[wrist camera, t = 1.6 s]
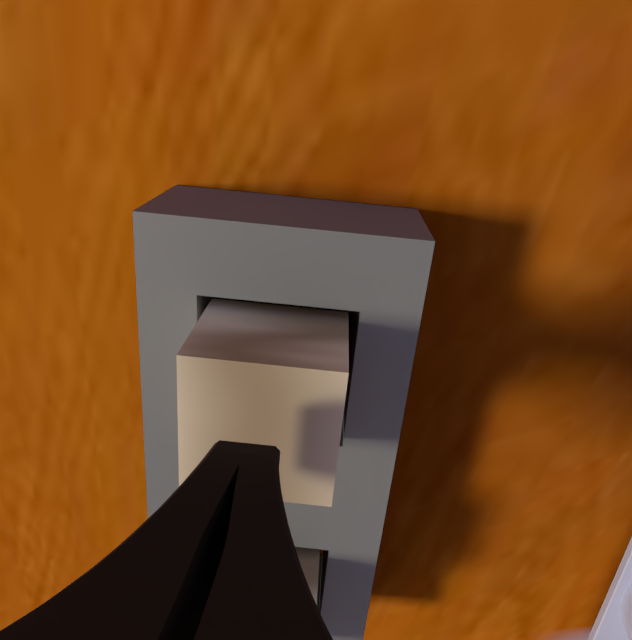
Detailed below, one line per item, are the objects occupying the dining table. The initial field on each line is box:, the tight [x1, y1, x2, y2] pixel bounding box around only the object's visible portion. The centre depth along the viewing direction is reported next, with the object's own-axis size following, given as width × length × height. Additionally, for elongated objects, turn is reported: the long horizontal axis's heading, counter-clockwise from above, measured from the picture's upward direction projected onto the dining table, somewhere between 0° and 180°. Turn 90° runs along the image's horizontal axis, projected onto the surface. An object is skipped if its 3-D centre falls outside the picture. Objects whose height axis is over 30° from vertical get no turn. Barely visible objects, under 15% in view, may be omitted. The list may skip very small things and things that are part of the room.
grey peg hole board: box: [132, 185, 435, 640], centre depth 20 cm, size 8×18×4 cm, turn 175°
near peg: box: [176, 298, 349, 507], centre depth 15 cm, size 4×4×4 cm
